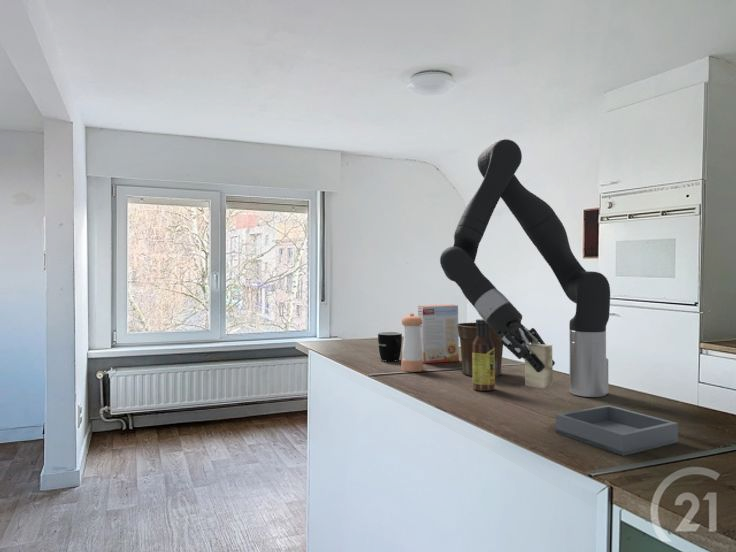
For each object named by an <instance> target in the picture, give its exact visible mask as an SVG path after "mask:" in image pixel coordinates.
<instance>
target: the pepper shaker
mask: <svg viewBox="0 0 736 552" xmlns="http://www.w3.org/2000/svg"><path fill="white" fill-rule="evenodd" d="M401 324H402V326H403V340H402V347H401V351H402V358H401V367H400V368H401V371H403V372H408V373H409V372H410V373H413V372H414V373H415V372H422V371H423V370H424V363H423V360H422V347H421V341H420V325H421V324H422V319H421V318H420V317H418V315H415V314H414V313H409V315H406V316H404V317H402V318H401Z"/></svg>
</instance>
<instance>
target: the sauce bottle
mask: <svg viewBox="0 0 736 552" xmlns="http://www.w3.org/2000/svg"><path fill="white" fill-rule="evenodd" d="M475 323H476V326H477V332H476V334H477V336H476V338H475V339H474V341H473V352H472V370H473V376H472V388H473V390H475V391H481V392H489V391H490V392H491V391H494V390H495V384H496V376H495V347H494V344H493V342H492V339H491V336H490V327H489V325H488V324H487V323H486V322H485V321H484V320H483V318H479V319H476V320H475Z"/></svg>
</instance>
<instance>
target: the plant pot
mask: <svg viewBox="0 0 736 552" xmlns="http://www.w3.org/2000/svg"><path fill="white" fill-rule="evenodd" d="M456 326H457V327H458V335H459V345H460V355H461V356H460V357H461V370H462V373H463V374H464V375H465V376H469V377H470V376H471V377H473V370H472V352H473V341H474V339H475V338H476V336H477V334H476V332H477V326H476V322H460V323H459V322H458V324H456ZM490 336H491V339H492V342H493V344H494V347H495V377H497V376H500V375H501V374H502V373H501V372H502V362H503V351H504V350H503V349H504V345H503V344H502V343H501V342H500V340H501V339H502V338H503V337H504V335H503V336H497V335H496V334H495V333H494V331H493V330H492V329H491V328H490Z"/></svg>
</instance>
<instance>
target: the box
mask: <svg viewBox="0 0 736 552" xmlns="http://www.w3.org/2000/svg"><path fill="white" fill-rule="evenodd" d="M555 433H556V434H559V435H562V436H565V437H566V438H571V439H573V440H575V441H579V442H582V443H584V444H588V445H591V446H593V447H595V448H596V447H597V448H599V449H602V450H604V451H608V452H610V453H614V454H616V455H619V456H622V457H624V456H628V455H633V454H637V453H640V452H646V451H648V450H652V449H653V450H654V449H657V448H661V447H666V446H669V445H673V444H677V443H679V423H678V422H676V421H675V422H674V421H671V420H667V419H664V418H659V417H657V416H652V415H648V414H644V413H640V412H636V411H633V410H628V409H625V408H621V407H617V406H614V405H609V404H607V405H601V406H595V407H590V408H584V409H580V410H573V411H567V412H562V413H556V414H555Z"/></svg>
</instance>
